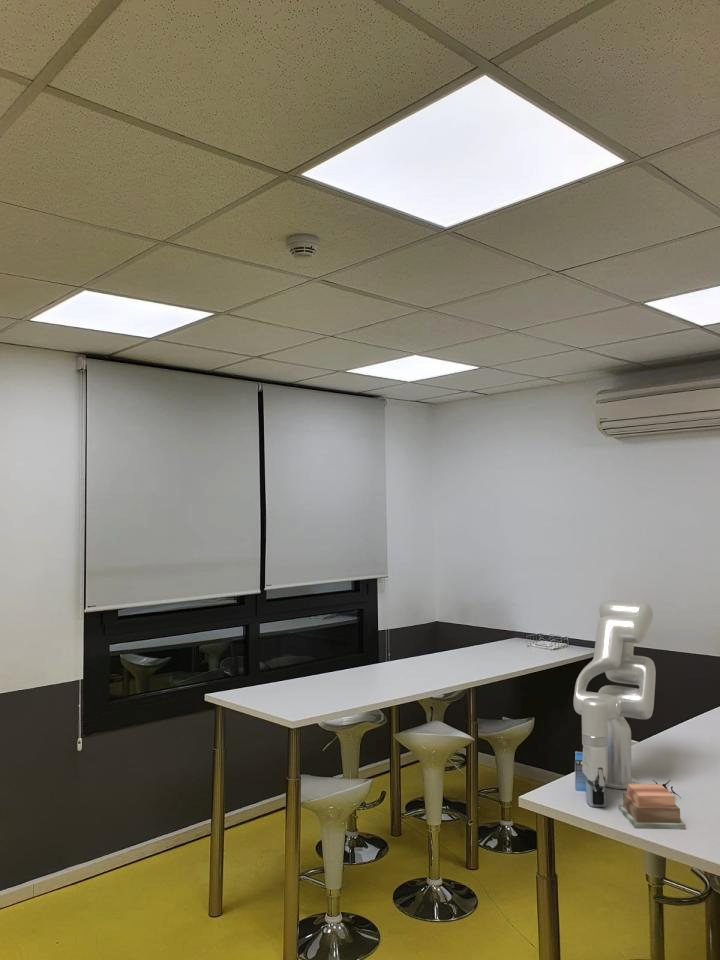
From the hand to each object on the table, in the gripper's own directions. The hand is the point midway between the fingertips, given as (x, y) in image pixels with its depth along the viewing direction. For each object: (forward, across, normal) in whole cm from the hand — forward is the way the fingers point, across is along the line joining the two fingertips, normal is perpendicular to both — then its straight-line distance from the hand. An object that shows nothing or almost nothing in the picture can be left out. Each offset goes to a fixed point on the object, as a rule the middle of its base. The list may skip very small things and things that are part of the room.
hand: (595, 800), depth 222 cm
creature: (+2, -7, +24) cm, 25 cm away
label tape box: (+2, -13, +2) cm, 13 cm away
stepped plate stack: (+1, +10, +13) cm, 16 cm away
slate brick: (+1, 0, 0) cm, 1 cm away
